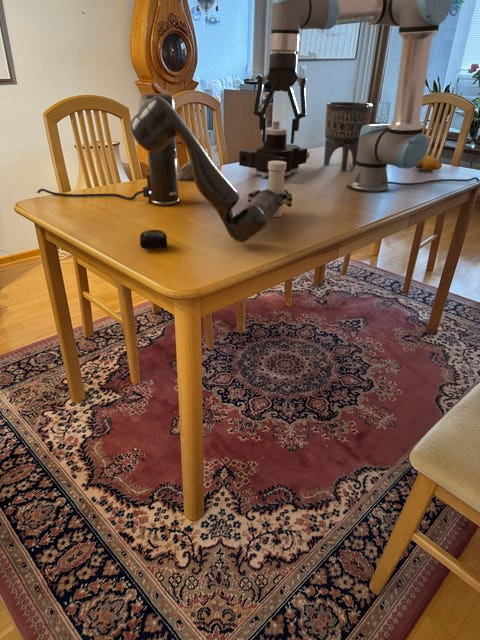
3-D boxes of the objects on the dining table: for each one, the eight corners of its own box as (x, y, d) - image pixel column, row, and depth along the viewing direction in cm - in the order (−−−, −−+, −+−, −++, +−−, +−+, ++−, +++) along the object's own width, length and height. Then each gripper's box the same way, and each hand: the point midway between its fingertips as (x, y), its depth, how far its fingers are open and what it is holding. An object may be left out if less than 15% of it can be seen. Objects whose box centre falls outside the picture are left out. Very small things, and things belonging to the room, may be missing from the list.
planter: (313, 167, 208) (319, 103, 195) (331, 160, 222) (338, 101, 209) (353, 173, 199) (362, 107, 185) (369, 166, 213) (379, 104, 199)
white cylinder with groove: (267, 166, 140) (267, 160, 139) (285, 167, 140) (285, 160, 139) (268, 170, 135) (268, 164, 135) (286, 171, 135) (287, 164, 134)
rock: (201, 173, 191) (201, 157, 188) (214, 178, 186) (214, 161, 182) (175, 178, 184) (174, 161, 180) (187, 183, 178) (186, 166, 175)
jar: (266, 212, 147) (269, 162, 139) (281, 212, 147) (284, 162, 139) (266, 216, 143) (269, 165, 135) (282, 217, 143) (285, 165, 135)
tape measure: (140, 252, 115) (139, 238, 113) (141, 242, 120) (140, 229, 119) (167, 251, 116) (166, 237, 114) (167, 241, 121) (166, 228, 120)
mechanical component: (240, 120, 182) (283, 115, 202) (239, 174, 192) (280, 164, 212) (283, 126, 170) (325, 120, 190) (280, 183, 180) (320, 171, 200)
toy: (415, 164, 201) (409, 156, 214) (418, 178, 204) (412, 170, 217) (442, 156, 198) (434, 149, 211) (444, 170, 201) (436, 162, 214)
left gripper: (288, 195, 126) (300, 182, 140) (240, 191, 130) (256, 178, 144) (287, 222, 130) (298, 206, 144) (239, 216, 134) (255, 201, 148)
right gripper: (322, 53, 124) (313, 142, 136) (248, 52, 127) (246, 138, 139) (321, 53, 118) (312, 146, 129) (243, 51, 121) (241, 142, 132)
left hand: (277, 192), depth 144 cm, fingers closed on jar, 5 cm apart
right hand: (278, 142), depth 134 cm, fingers open, 8 cm apart
